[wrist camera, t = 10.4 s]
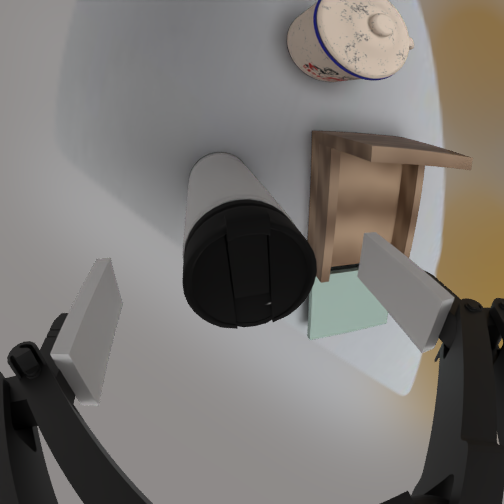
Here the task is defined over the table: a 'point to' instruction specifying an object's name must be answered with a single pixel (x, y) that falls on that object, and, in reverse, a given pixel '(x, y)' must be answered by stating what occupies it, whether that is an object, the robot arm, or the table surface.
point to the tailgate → (342, 305)
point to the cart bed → (367, 192)
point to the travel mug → (241, 248)
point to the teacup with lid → (349, 40)
